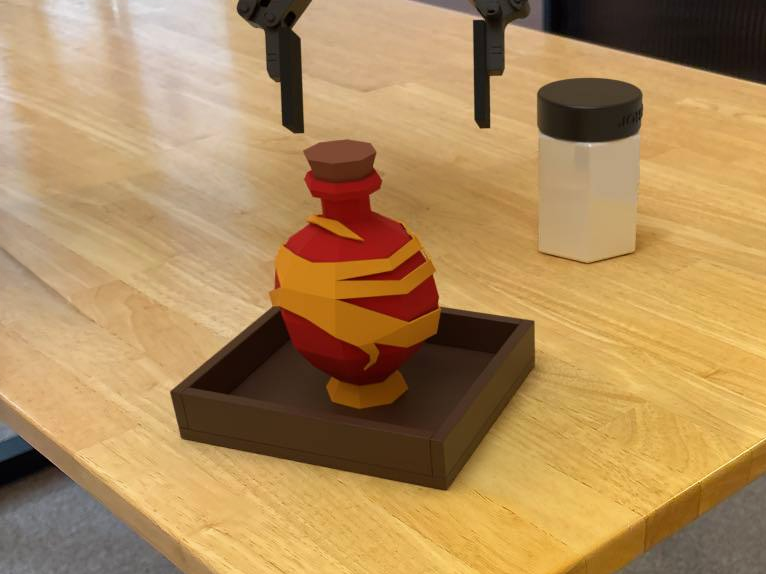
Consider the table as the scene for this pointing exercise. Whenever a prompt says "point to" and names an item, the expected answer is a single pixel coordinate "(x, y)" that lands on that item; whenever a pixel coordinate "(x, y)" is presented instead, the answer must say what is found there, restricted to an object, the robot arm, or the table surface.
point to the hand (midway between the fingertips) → (387, 127)
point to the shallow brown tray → (367, 425)
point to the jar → (588, 167)
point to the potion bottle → (354, 282)
